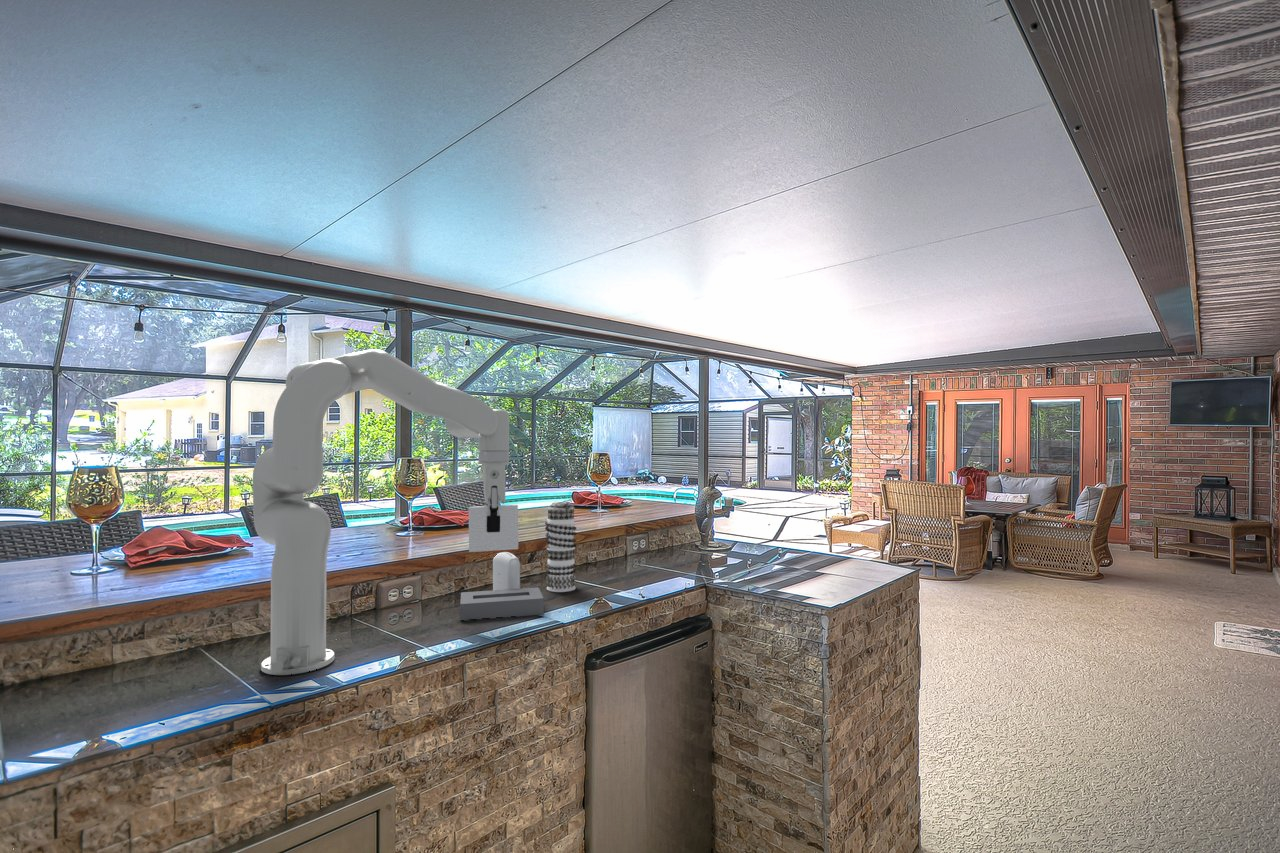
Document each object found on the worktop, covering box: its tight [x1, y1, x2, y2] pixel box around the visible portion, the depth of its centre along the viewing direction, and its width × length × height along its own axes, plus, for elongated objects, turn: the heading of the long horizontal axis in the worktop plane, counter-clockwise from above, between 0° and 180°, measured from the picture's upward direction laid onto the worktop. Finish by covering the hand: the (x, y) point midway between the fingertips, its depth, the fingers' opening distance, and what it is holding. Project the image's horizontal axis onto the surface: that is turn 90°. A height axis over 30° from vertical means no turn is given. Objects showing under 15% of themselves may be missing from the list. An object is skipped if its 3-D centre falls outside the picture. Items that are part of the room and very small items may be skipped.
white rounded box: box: [492, 551, 521, 590], centre depth 174 cm, size 10×4×12 cm, turn 39°
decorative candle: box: [544, 501, 577, 593], centre depth 184 cm, size 9×9×25 cm
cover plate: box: [468, 504, 519, 553], centre depth 158 cm, size 2×12×11 cm, turn 105°
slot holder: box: [459, 586, 545, 621], centre depth 160 cm, size 12×20×4 cm, turn 105°
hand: (493, 530), depth 158 cm, fingers closed on cover plate, 1 cm apart
